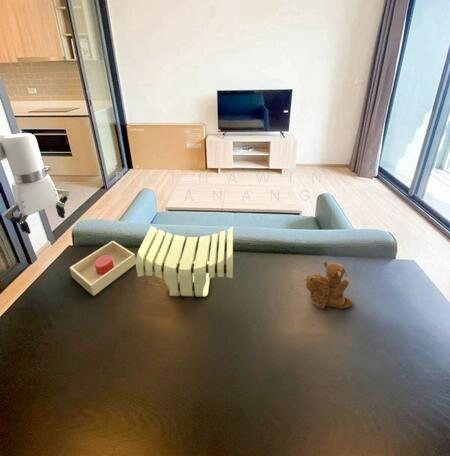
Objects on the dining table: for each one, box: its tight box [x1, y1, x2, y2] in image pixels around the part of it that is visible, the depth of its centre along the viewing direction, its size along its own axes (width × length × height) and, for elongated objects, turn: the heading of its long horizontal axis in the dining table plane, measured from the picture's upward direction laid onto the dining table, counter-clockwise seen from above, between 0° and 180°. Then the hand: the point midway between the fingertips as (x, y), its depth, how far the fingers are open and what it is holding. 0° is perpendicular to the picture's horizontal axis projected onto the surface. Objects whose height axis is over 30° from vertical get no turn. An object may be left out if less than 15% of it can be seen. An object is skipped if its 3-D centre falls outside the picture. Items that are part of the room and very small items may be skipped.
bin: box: [69, 240, 136, 297], centre depth 92 cm, size 14×17×5 cm
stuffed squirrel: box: [304, 260, 353, 310], centre depth 78 cm, size 10×14×13 cm
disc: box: [94, 255, 114, 275], centre depth 92 cm, size 6×6×4 cm
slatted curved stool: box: [135, 225, 234, 297], centre depth 84 cm, size 30×16×18 cm, turn 88°
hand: (45, 224), depth 78 cm, fingers open, 9 cm apart
